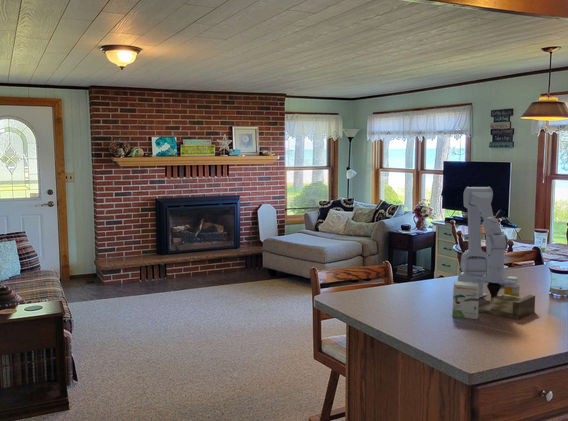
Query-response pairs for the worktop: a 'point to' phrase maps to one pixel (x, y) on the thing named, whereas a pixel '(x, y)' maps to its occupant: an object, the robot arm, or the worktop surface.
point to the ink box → (465, 300)
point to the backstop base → (519, 308)
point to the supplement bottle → (511, 290)
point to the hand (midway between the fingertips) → (493, 303)
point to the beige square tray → (503, 303)
